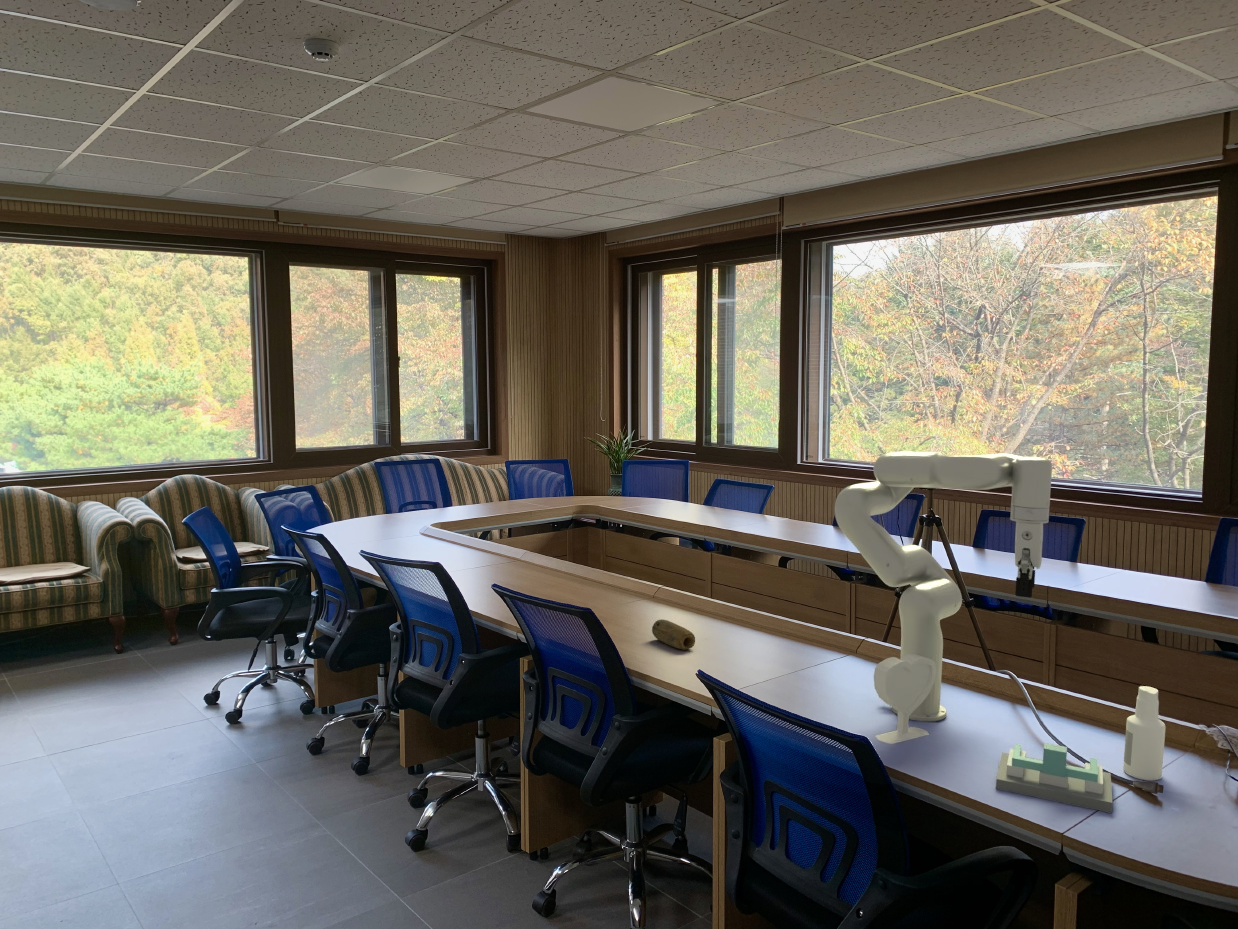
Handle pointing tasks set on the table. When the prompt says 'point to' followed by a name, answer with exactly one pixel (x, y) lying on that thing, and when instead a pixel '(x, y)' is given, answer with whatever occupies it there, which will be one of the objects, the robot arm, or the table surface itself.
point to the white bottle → (1145, 738)
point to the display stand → (1055, 785)
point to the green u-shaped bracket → (1055, 763)
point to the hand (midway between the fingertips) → (1024, 591)
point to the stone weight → (673, 634)
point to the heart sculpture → (904, 691)
